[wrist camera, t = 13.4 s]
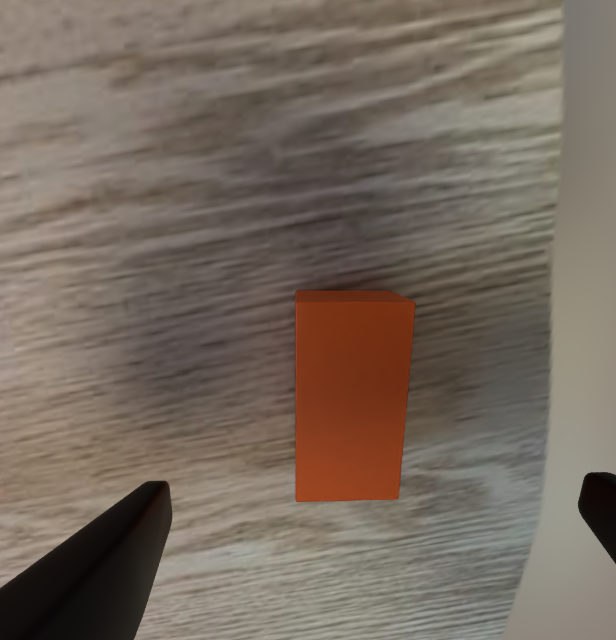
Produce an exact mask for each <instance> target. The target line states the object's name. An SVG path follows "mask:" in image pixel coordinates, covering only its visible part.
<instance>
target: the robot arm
mask: <svg viewBox="0 0 616 640" xmlns="http://www.w3.org/2000/svg"><path fill="white" fill-rule="evenodd" d="M578 508H579V512H580V514H581V516H582V517H583V519H584V520H585V522H586V523H587V524H588V526H589V527H590V529H591V530H592V531H593V533H594V534H595V536H596V537H597V538H598V540H599V541H600V543H601V544H602V545H603V547H604V548H605V549H606V551H607V552H608V554H609V555H610V557H611V558H612V559H613V561H614V562H615V563H616V475H614V474H612V473H608V472H591V473H588V474H587V475H586V476H585V477H584V480H583V485H582V489H581V493H580V497H579V501H578ZM171 523H172V506H171V496H170V487H169V484H168V482H166V481H147V482H145V483H144V484H142V485H141V486H139V487H138V488H137V489H135V490H134V491H133V492H131V493H130V494H129V495H127V496H126V497H124V498H123V499H122V500H120V501H119V502H118V503H116V504H115V505H113V506H112V507H111V508H109V509H108V510H107V511H105V512H104V513H103V514H101V515H100V516H98V517H97V518H96V519H94V520H93V521H92V522H90V523H89V524H87V525H86V526H85V527H83V528H82V529H81V530H79V531H78V532H77V533H75V534H74V535H72V536H71V537H70V538H68V539H67V540H66V541H64V542H63V543H61V544H60V545H59V546H57V547H56V548H55V549H53V550H52V551H51V552H49V553H48V554H46V555H45V556H44V557H42V558H41V559H40V560H38V561H37V562H36V563H34V564H33V565H31V566H30V567H29V568H27V569H26V570H25V571H23V572H22V573H20V574H19V575H18V576H16V577H15V578H14V579H12V580H11V581H10V582H8V583H7V584H5V585H4V586H3V587H1V588H0V640H134V638H135V635H136V633H137V630H138V627H139V625H140V622H141V620H142V617H143V614H144V611H145V608H146V605H147V602H148V598H149V595H150V592H151V589H152V586H153V582H154V579H155V576H156V573H157V569H158V566H159V563H160V560H161V556H162V553H163V550H164V547H165V543H166V540H167V537H168V534H169V530H170V527H171Z"/></svg>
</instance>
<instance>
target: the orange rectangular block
mask: <svg viewBox="0 0 616 640" xmlns="http://www.w3.org/2000/svg"><path fill="white" fill-rule="evenodd" d="M415 306H416V303H415V302H414V301H412V300H410V299H407V298H405V297H403V296H401V295H399V294H396V293H394V292H392V291H322V290H297V291H296V292H295V392H296V501H297V502H308V501H351V500H394V499H398V498H399V487H400V475H401V464H402V453H403V442H404V430H405V419H406V408H407V396H408V385H409V374H410V362H411V351H412V340H413V328H414V317H415Z"/></svg>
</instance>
